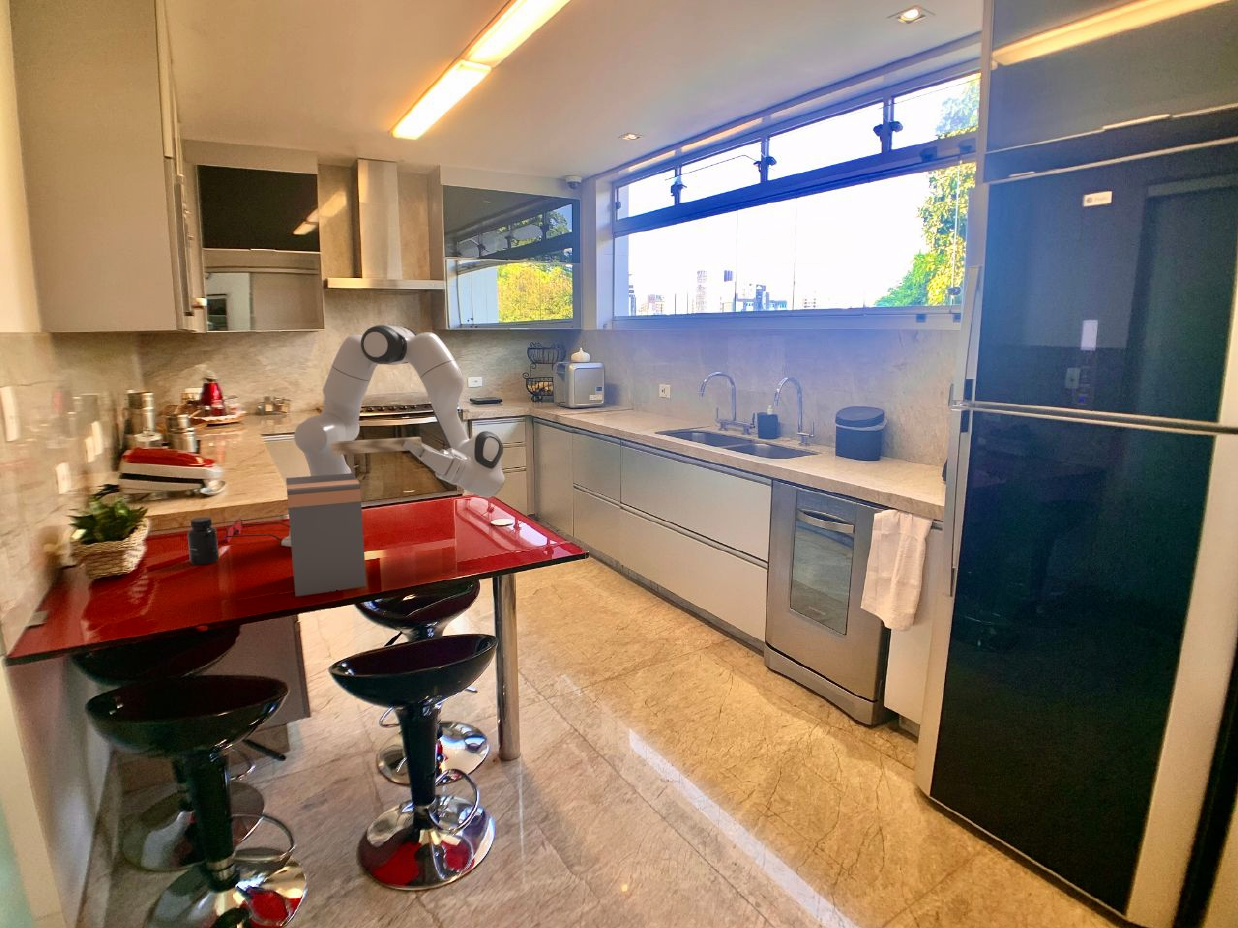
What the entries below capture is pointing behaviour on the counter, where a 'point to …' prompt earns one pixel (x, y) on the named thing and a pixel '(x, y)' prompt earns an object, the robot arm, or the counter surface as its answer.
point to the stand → (326, 533)
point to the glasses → (239, 526)
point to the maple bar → (372, 445)
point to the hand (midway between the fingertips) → (402, 442)
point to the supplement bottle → (202, 542)
